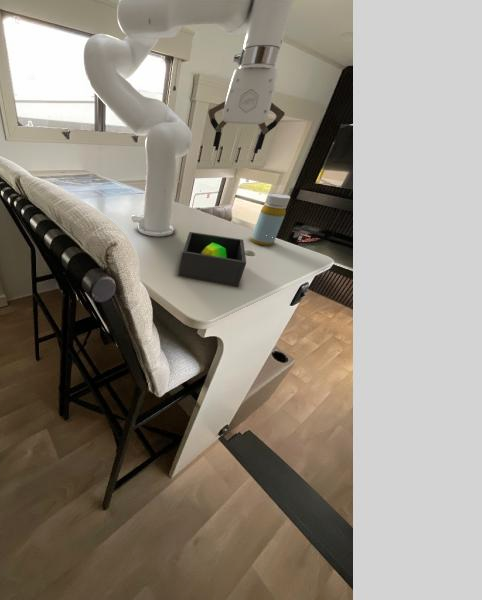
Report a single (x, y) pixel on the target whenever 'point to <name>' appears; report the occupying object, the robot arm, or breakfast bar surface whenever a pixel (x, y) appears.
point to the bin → (213, 259)
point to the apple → (215, 250)
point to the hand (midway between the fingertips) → (235, 151)
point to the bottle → (270, 219)
